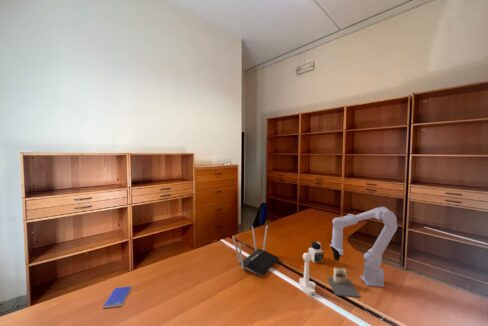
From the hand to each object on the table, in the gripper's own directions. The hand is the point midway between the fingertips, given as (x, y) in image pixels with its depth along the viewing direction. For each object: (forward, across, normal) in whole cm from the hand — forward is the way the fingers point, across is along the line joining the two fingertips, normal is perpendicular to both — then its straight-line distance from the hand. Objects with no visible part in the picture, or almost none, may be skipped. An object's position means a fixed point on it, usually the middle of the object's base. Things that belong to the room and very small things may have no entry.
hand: (336, 259), depth 120 cm
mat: (+9, +11, 0) cm, 14 cm away
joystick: (+10, +14, -19) cm, 25 cm away
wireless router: (+10, -7, -49) cm, 50 cm away
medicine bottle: (+10, -16, -8) cm, 20 cm away
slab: (+9, +7, 0) cm, 11 cm away
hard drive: (+10, +33, -117) cm, 122 cm away
